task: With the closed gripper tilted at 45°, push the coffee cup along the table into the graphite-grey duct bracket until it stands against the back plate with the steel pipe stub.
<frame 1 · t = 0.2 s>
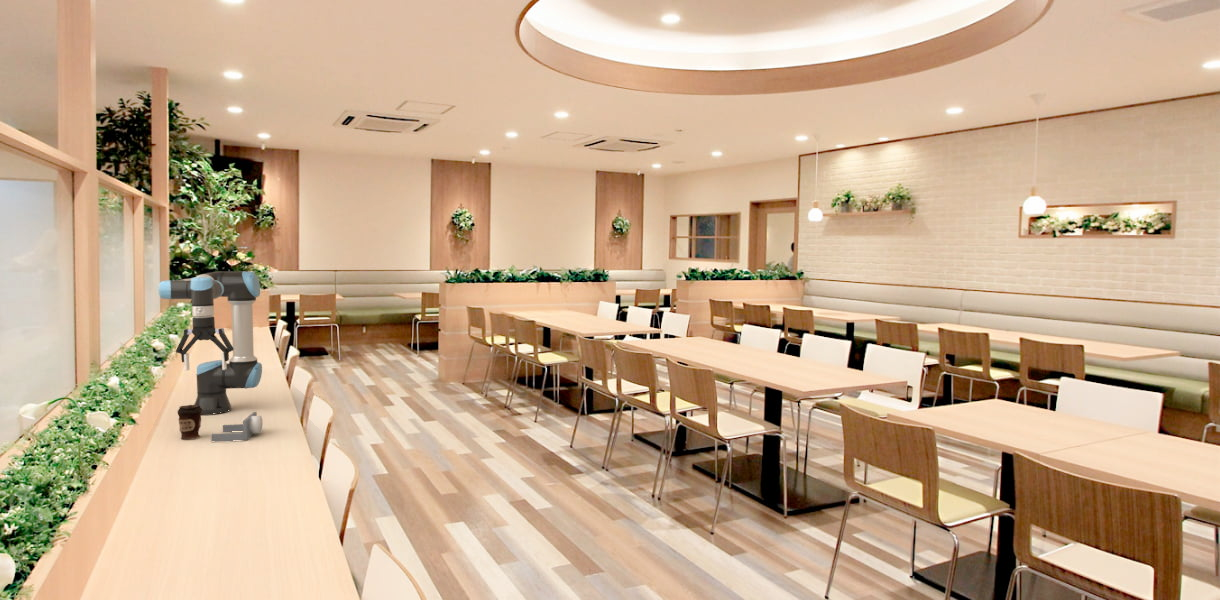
hand: (205, 369, 282), 28 cm above the counter, tool pointing down, fingers open, 13 cm apart
coffee cup: (190, 438, 285), on the counter
duct bracket: (234, 436, 289), on the counter
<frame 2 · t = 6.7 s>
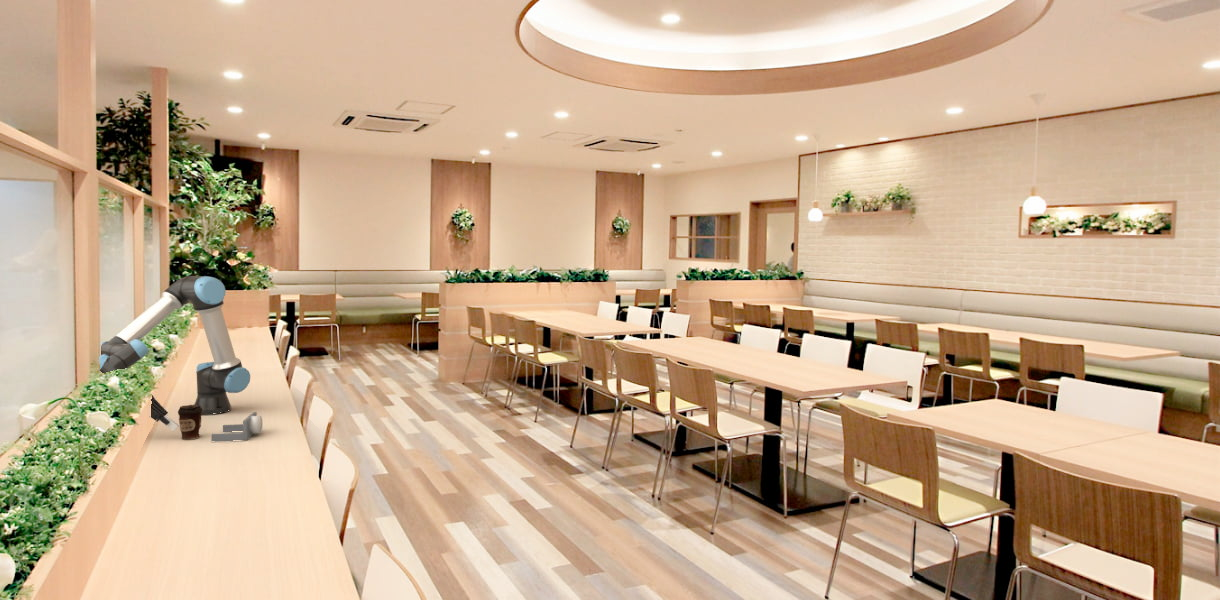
hand: (176, 428, 283), 4 cm above the counter, tool tilted 45°, fingers closed
coffee cup: (190, 438, 285), on the counter, touching gripper
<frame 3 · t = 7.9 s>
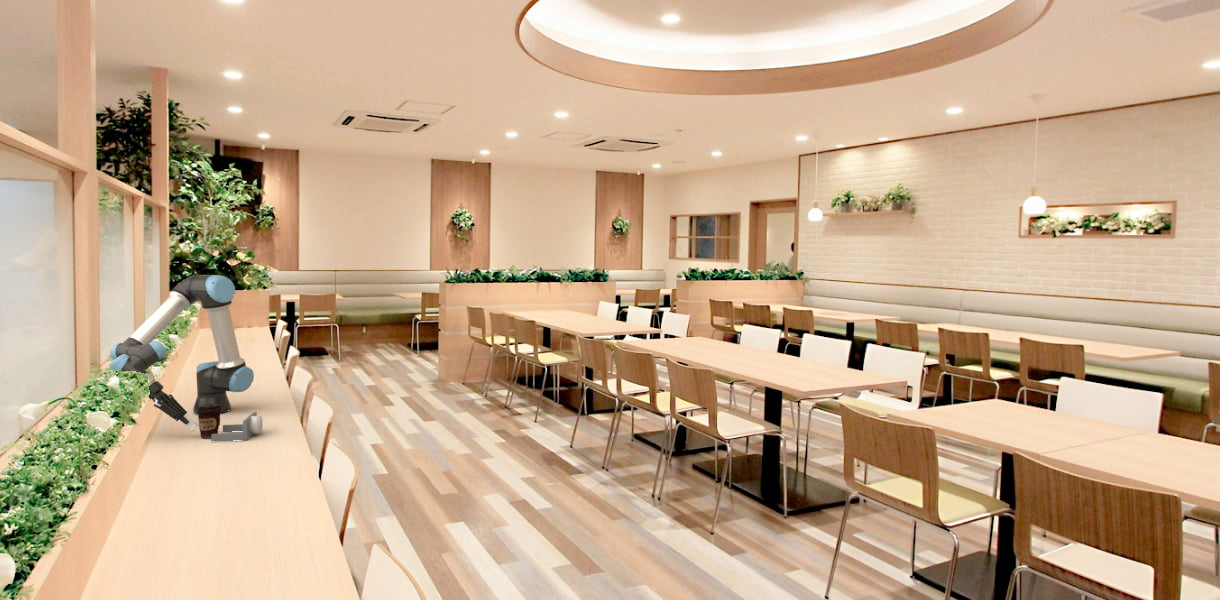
hand: (195, 428, 284), 4 cm above the counter, tool tilted 45°, fingers closed
coffee cup: (209, 437, 287), on the counter, touching gripper
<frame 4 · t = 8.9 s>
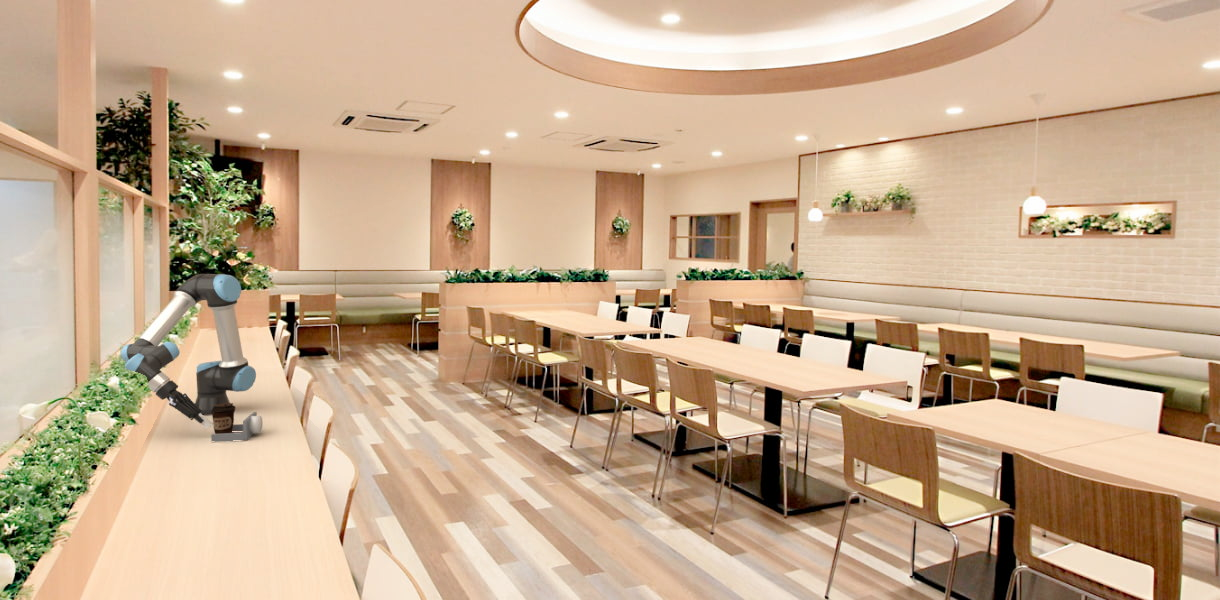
hand: (210, 426, 286), 4 cm above the counter, tool tilted 45°, fingers closed
coffee cup: (224, 436, 289), on the counter, touching gripper
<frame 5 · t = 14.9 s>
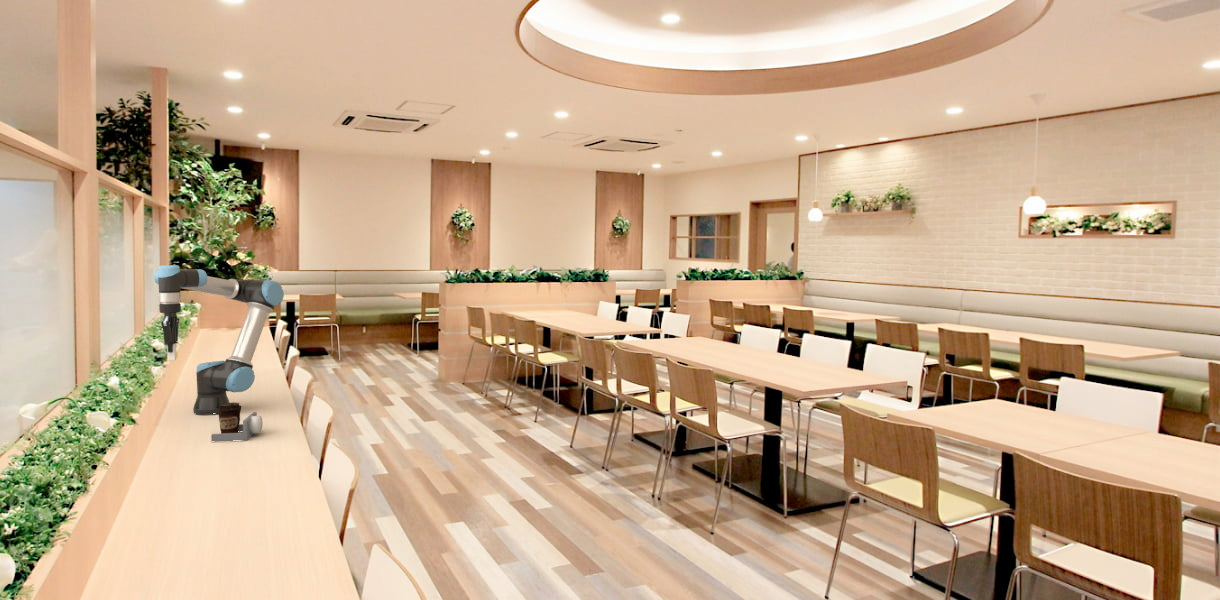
hand: (171, 359, 295), 29 cm above the counter, tool pointing down, fingers closed
coffee cup: (230, 436, 290), on the counter
at the end: coffee cup inside the target area on the duct bracket (2.2 cm from its centre), point 0.0 cm above the duct bracket's base; coffee cup tilted 0°; the gripper is holding nothing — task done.
